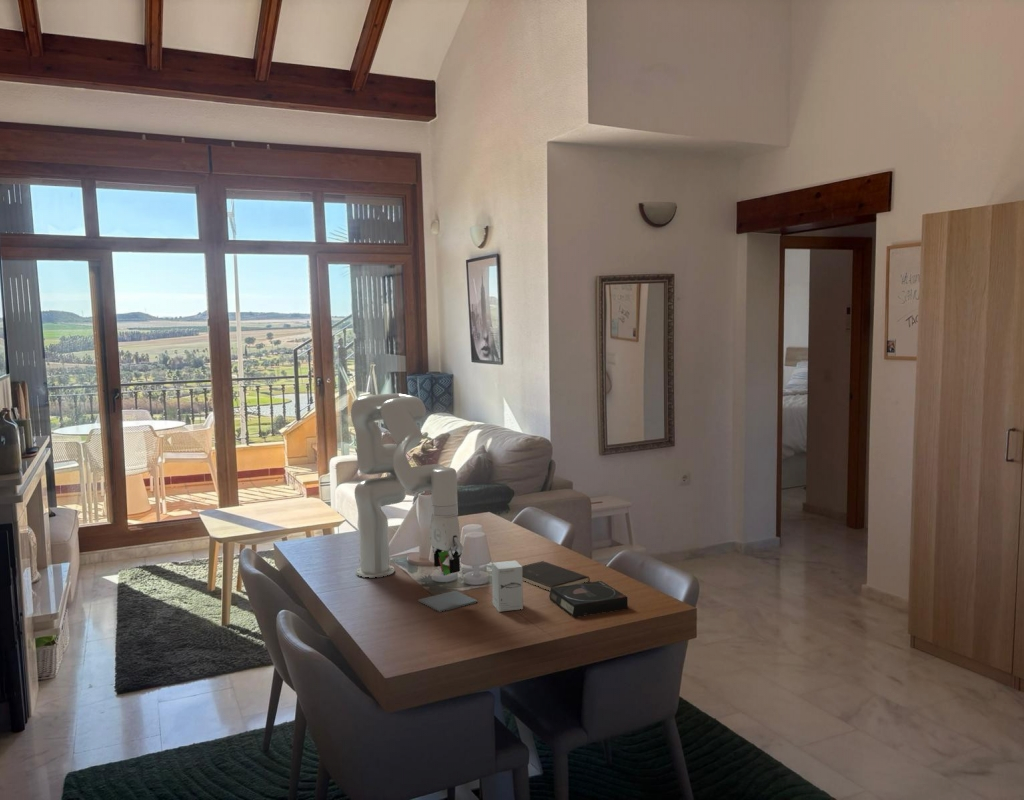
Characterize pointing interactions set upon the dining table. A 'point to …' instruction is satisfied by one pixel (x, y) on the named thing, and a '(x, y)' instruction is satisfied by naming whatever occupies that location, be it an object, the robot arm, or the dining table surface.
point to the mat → (447, 601)
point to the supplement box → (507, 585)
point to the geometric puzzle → (444, 562)
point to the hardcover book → (551, 575)
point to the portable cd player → (588, 598)
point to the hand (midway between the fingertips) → (447, 568)
